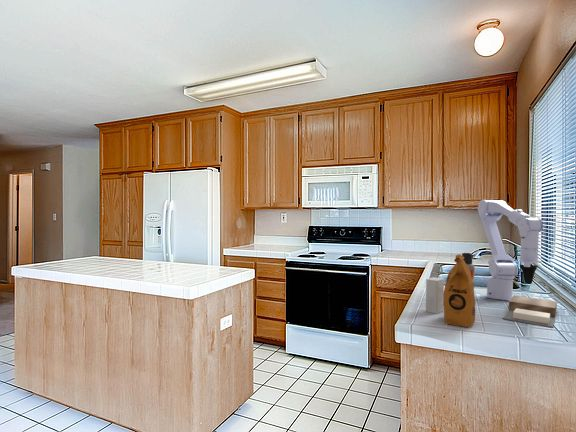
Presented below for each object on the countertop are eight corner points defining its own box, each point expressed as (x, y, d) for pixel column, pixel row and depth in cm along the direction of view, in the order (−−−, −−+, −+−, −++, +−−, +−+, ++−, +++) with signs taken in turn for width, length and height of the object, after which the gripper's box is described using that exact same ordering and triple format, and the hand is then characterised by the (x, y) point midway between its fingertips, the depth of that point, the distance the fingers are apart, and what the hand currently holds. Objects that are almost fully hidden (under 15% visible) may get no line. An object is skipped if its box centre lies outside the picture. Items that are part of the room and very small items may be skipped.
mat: (502, 319, 125) (502, 318, 125) (508, 310, 136) (508, 309, 136) (553, 327, 116) (553, 326, 116) (555, 318, 127) (555, 317, 127)
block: (516, 308, 131) (515, 313, 131) (513, 312, 125) (513, 317, 126) (550, 313, 125) (550, 319, 125) (548, 317, 119) (548, 323, 119)
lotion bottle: (458, 301, 149) (460, 252, 149) (457, 298, 154) (459, 251, 154) (474, 303, 147) (475, 253, 147) (472, 300, 152) (474, 252, 152)
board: (508, 310, 137) (509, 301, 136) (513, 304, 147) (513, 295, 147) (555, 318, 128) (555, 308, 128) (556, 310, 138) (556, 301, 138)
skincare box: (432, 308, 137) (433, 277, 137) (443, 311, 134) (444, 278, 134) (425, 311, 133) (425, 278, 133) (436, 314, 130) (437, 280, 130)
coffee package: (439, 324, 118) (441, 256, 118) (444, 315, 129) (446, 253, 129) (473, 329, 113) (475, 259, 113) (476, 319, 124) (477, 255, 124)
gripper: (540, 250, 133) (539, 287, 133) (543, 248, 145) (542, 282, 145) (517, 249, 138) (516, 285, 138) (522, 246, 149) (521, 279, 149)
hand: (528, 283), depth 142 cm, fingers closed
